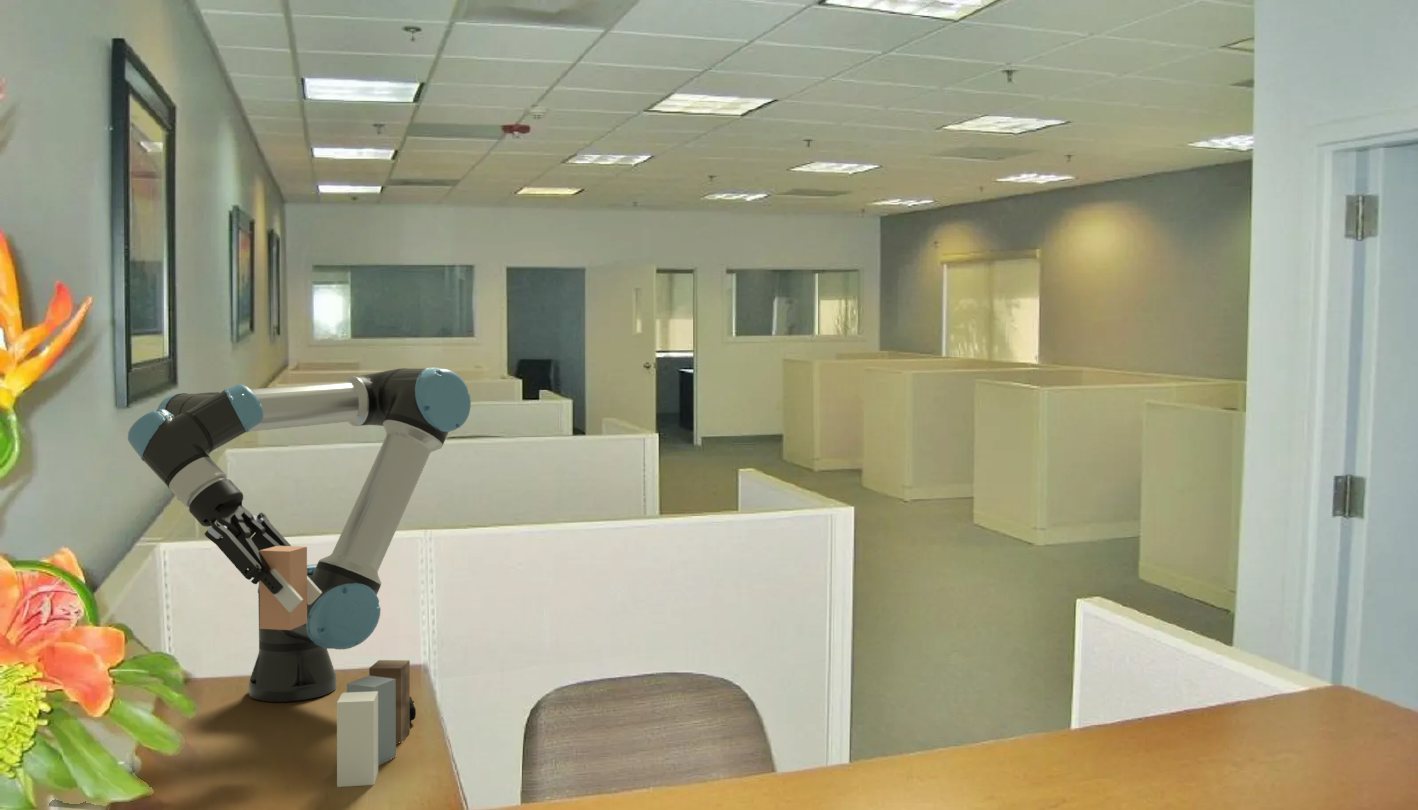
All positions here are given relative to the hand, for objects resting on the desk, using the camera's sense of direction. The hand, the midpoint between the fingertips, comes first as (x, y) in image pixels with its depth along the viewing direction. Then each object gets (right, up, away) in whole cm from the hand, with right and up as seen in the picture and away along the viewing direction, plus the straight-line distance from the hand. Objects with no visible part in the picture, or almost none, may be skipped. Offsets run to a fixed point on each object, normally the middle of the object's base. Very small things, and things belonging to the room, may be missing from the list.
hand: (305, 602), depth 173 cm
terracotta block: (-4, -4, +1) cm, 5 cm away
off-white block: (+12, -23, -12) cm, 29 cm away
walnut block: (+11, -23, +7) cm, 26 cm away
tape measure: (+10, -23, +17) cm, 30 cm away
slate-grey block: (+11, -23, -3) cm, 26 cm away
